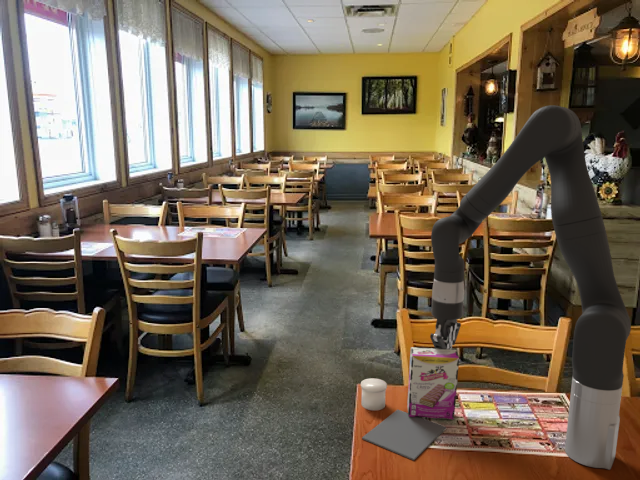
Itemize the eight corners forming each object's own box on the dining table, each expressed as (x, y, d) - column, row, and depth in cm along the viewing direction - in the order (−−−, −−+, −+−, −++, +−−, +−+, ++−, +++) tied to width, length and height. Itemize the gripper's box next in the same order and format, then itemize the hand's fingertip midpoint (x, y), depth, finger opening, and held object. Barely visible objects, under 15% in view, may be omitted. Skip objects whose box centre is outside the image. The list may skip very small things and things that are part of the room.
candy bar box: (408, 418, 125) (411, 355, 122) (406, 407, 130) (409, 346, 126) (455, 420, 124) (459, 357, 120) (452, 409, 129) (456, 348, 125)
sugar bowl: (391, 403, 133) (391, 383, 132) (377, 413, 128) (378, 392, 127) (369, 395, 137) (369, 376, 136) (355, 405, 132) (355, 385, 131)
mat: (446, 428, 122) (446, 426, 122) (413, 460, 109) (414, 458, 109) (397, 410, 129) (397, 409, 129) (362, 439, 117) (362, 437, 117)
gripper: (450, 307, 120) (446, 377, 123) (473, 293, 130) (469, 358, 133) (421, 300, 124) (418, 368, 127) (445, 288, 134) (441, 351, 138)
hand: (444, 363), depth 130 cm, fingers closed
